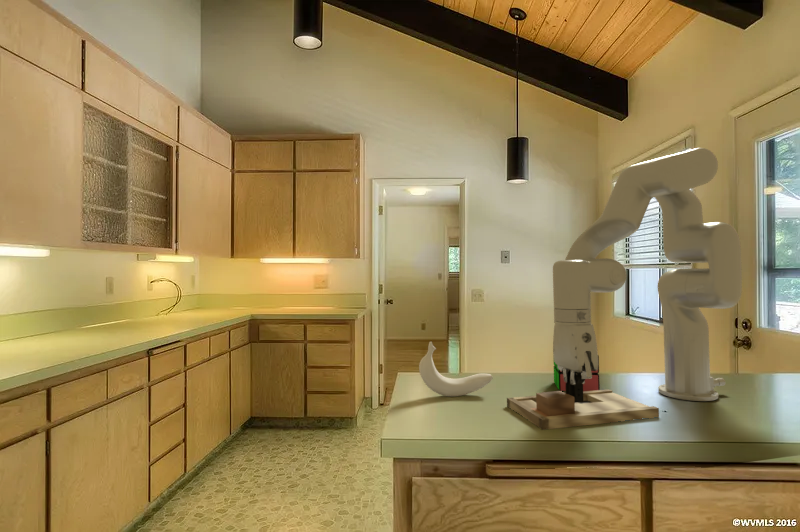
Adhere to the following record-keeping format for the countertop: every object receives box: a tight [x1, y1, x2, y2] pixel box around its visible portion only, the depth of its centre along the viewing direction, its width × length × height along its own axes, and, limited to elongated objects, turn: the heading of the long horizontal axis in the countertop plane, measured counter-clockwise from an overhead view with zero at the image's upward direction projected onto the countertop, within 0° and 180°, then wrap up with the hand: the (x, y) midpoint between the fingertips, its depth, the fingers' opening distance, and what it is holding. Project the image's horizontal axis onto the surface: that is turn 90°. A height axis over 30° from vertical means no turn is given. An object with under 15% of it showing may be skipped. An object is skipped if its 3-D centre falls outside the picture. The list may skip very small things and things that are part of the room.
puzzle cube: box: [553, 354, 601, 391], centre depth 119 cm, size 10×10×10 cm
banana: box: [418, 341, 494, 397], centre depth 112 cm, size 5×19×15 cm, turn 101°
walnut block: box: [535, 390, 575, 416], centre depth 94 cm, size 6×5×4 cm
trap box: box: [506, 388, 660, 430], centre depth 98 cm, size 27×16×2 cm, turn 102°
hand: (574, 401), depth 94 cm, fingers closed
